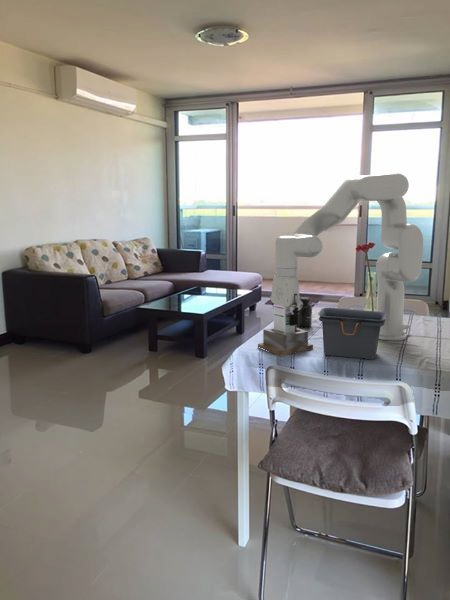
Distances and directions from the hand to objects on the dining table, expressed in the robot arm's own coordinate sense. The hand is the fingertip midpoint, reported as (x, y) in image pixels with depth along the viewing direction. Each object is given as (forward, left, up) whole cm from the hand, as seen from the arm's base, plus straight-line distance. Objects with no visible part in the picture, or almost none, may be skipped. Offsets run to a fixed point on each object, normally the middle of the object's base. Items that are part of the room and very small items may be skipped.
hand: (285, 322), depth 173 cm
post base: (0, 0, -9) cm, 9 cm away
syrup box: (0, 0, -8) cm, 8 cm away
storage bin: (-13, +18, -10) cm, 24 cm away
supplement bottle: (-25, -20, -10) cm, 34 cm away
